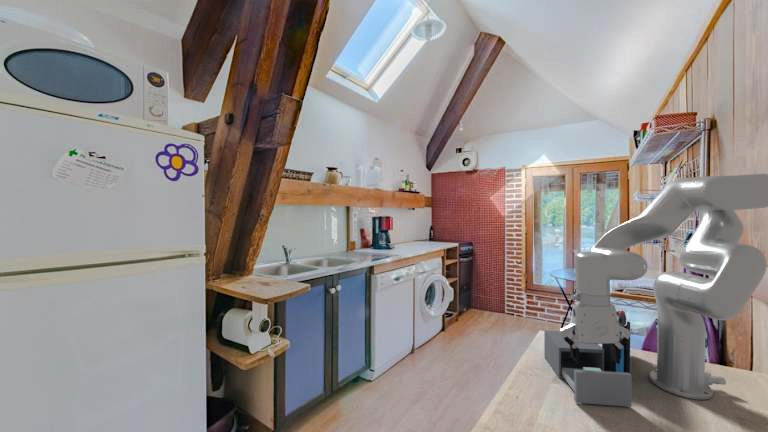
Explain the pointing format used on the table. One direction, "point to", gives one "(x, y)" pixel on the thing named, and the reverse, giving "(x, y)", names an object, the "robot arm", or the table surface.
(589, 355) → the grey box
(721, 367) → the table surface
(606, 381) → the drawer
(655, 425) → the table surface
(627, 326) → the game console
